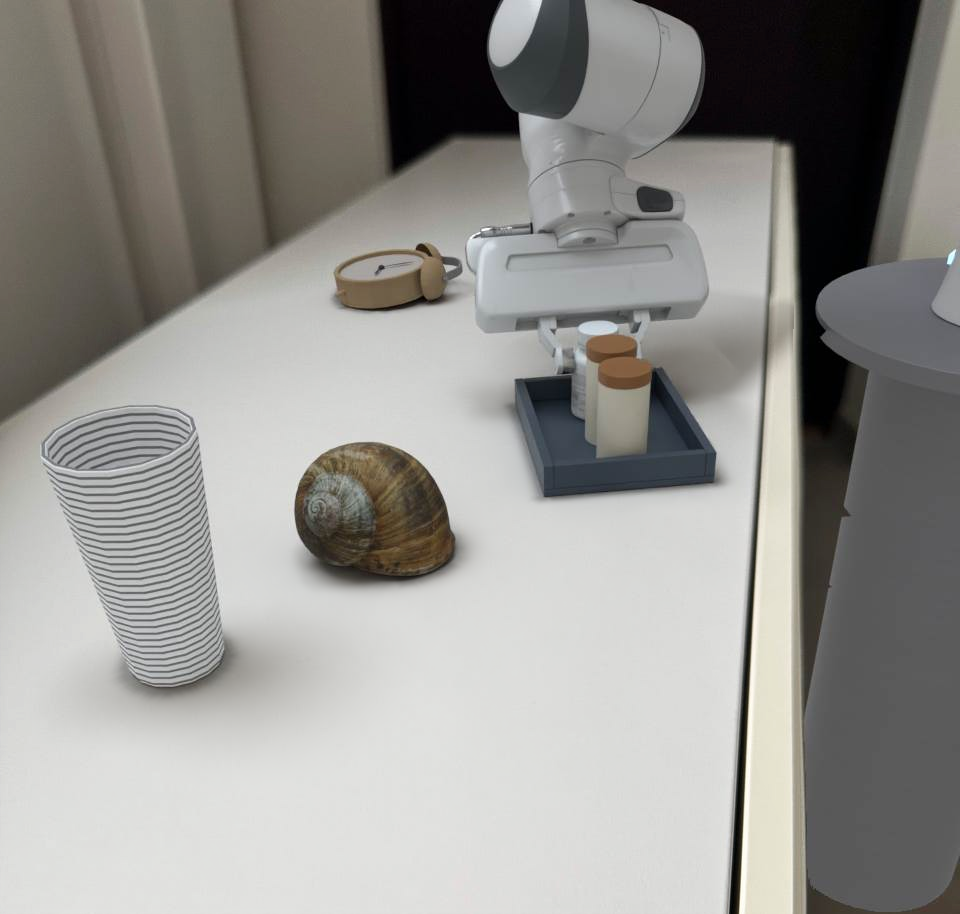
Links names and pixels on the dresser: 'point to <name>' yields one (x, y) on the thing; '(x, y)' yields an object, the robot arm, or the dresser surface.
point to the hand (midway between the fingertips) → (599, 369)
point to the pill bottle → (579, 356)
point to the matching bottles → (616, 396)
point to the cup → (143, 534)
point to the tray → (572, 460)
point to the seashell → (373, 511)
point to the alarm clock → (394, 276)
